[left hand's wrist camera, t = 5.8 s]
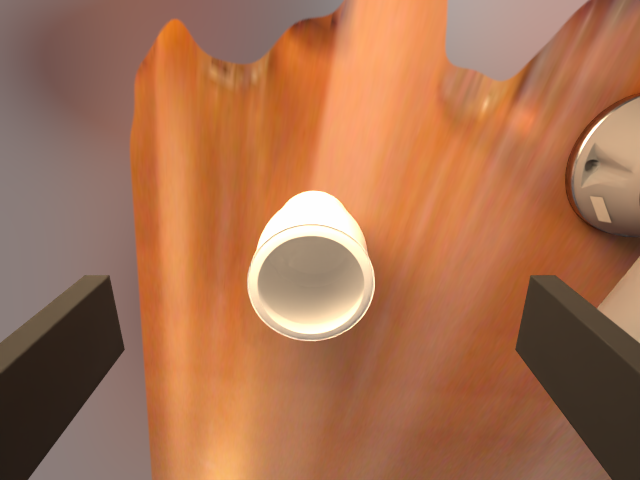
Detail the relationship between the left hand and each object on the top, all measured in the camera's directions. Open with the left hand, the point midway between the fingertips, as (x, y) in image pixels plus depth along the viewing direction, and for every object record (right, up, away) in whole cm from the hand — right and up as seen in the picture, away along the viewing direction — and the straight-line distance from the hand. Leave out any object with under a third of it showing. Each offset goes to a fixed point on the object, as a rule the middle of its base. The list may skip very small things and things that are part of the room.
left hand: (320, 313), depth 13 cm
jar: (-1, +4, +34) cm, 34 cm away
